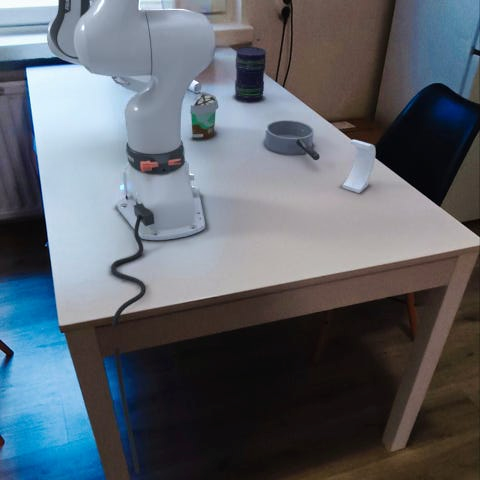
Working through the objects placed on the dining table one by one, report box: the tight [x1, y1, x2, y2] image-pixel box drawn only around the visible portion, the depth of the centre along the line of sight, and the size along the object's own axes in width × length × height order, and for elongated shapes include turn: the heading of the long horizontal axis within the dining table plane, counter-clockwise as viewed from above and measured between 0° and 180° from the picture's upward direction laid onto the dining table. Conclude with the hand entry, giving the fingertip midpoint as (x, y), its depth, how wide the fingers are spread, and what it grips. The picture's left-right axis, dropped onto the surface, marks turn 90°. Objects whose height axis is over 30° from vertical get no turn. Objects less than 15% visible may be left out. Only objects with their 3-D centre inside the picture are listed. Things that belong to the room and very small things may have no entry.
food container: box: [189, 91, 219, 141], centre depth 139 cm, size 12×6×10 cm, turn 168°
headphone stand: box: [341, 139, 376, 194], centre depth 118 cm, size 5×6×12 cm
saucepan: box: [264, 119, 315, 156], centre depth 138 cm, size 13×13×4 cm
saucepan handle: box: [297, 138, 321, 161], centre depth 129 cm, size 12×2×2 cm, turn 20°
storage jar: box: [234, 38, 267, 104], centre depth 162 cm, size 10×10×18 cm
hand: (173, 70), depth 124 cm, fingers closed
